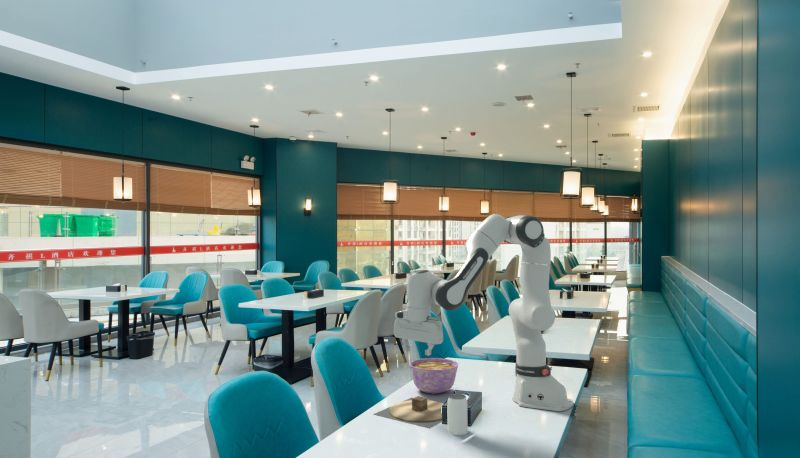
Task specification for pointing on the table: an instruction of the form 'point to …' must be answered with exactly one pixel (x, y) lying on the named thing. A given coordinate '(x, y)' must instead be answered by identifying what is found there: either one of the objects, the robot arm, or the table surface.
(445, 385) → the bowl of food
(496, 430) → the table surface
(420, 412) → the oak bowl cover
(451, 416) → the can
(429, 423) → the rubber mat
